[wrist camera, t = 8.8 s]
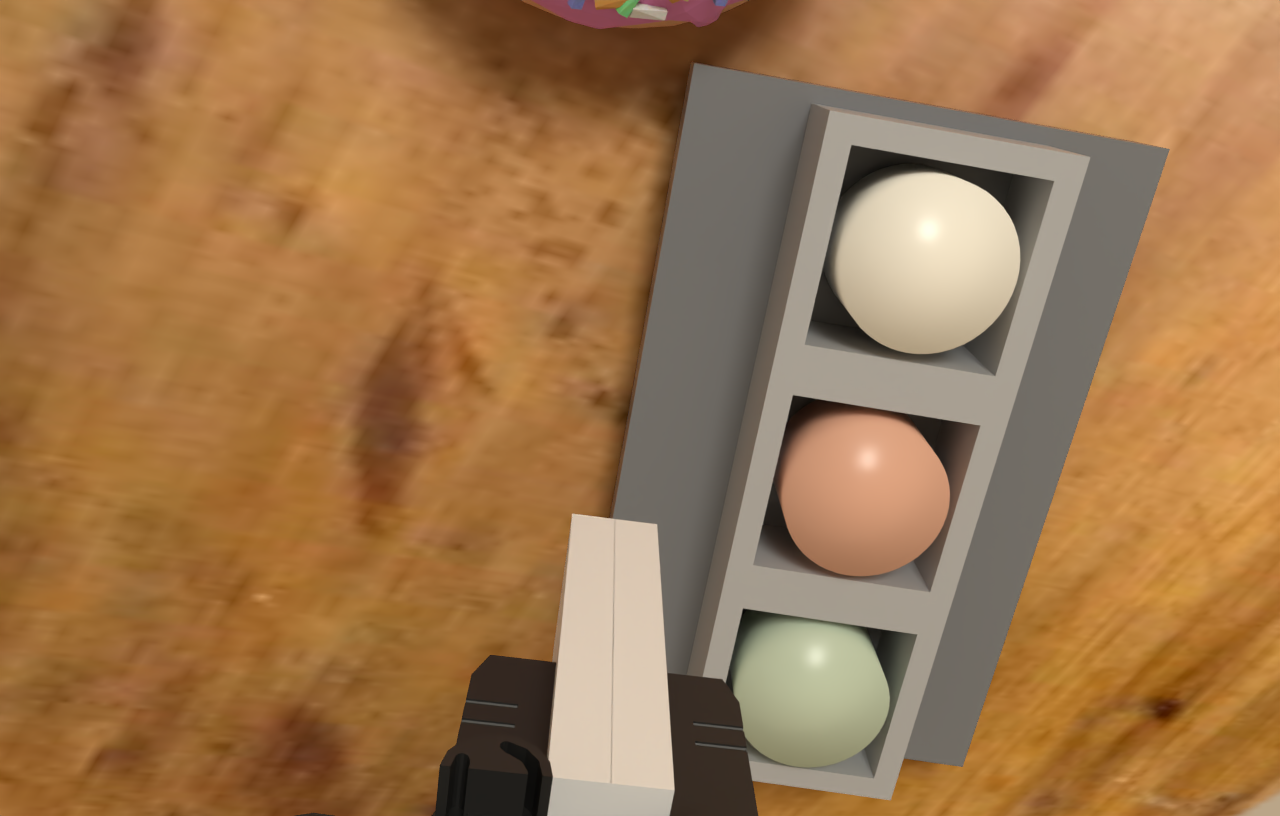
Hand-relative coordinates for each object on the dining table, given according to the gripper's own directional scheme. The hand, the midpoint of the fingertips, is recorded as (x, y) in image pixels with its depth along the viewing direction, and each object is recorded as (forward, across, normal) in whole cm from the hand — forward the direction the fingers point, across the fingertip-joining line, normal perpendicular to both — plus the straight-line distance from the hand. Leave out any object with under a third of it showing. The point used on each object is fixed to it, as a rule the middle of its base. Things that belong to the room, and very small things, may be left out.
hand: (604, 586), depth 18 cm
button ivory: (+14, +8, +4) cm, 17 cm away
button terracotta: (+14, +8, -3) cm, 16 cm away
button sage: (+14, +8, -10) cm, 19 cm away
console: (+16, +8, -3) cm, 18 cm away
